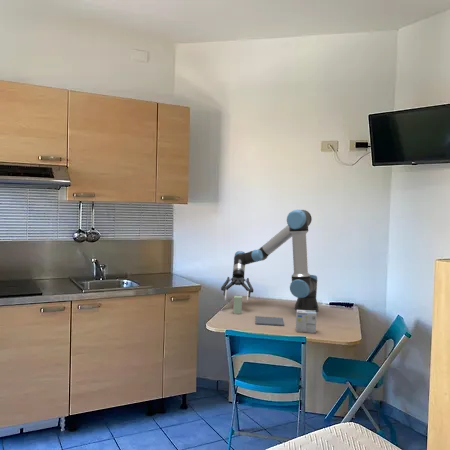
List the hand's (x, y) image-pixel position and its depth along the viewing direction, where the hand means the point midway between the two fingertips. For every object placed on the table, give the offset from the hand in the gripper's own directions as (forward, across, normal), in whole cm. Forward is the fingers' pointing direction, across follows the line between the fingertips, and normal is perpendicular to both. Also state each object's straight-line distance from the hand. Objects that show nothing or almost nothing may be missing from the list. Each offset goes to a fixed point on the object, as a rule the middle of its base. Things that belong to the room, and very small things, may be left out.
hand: (236, 300), depth 287 cm
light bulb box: (+29, -39, +19) cm, 53 cm away
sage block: (+7, -1, -3) cm, 8 cm away
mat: (+18, -20, +9) cm, 29 cm away
